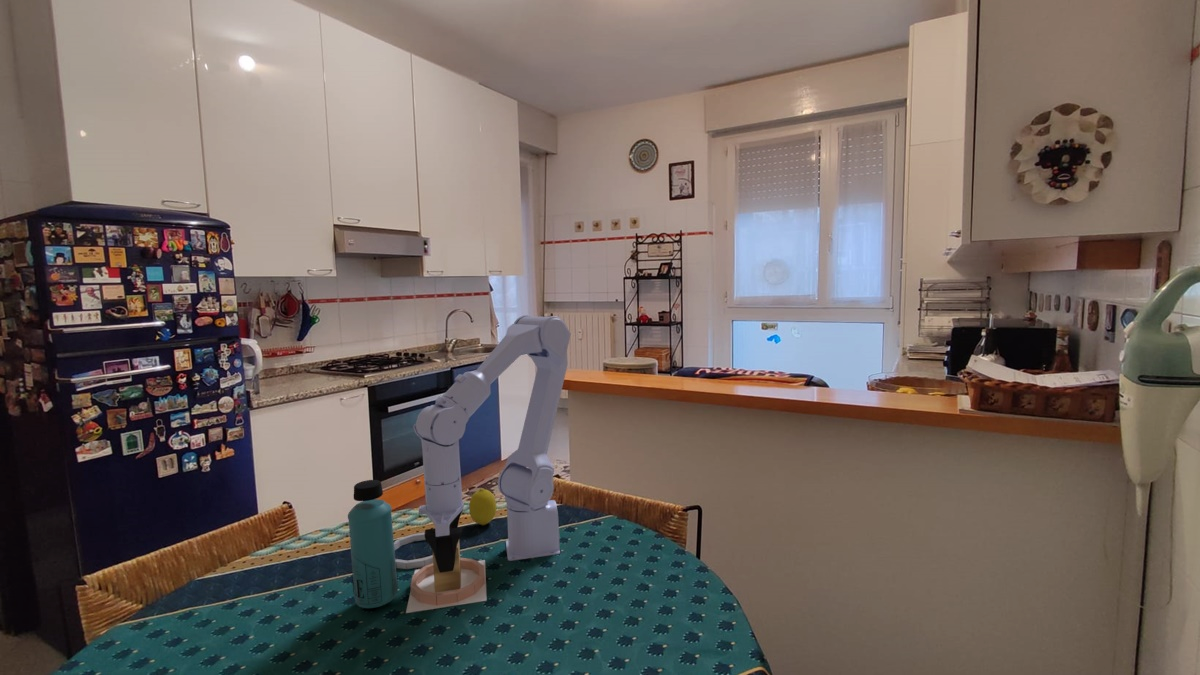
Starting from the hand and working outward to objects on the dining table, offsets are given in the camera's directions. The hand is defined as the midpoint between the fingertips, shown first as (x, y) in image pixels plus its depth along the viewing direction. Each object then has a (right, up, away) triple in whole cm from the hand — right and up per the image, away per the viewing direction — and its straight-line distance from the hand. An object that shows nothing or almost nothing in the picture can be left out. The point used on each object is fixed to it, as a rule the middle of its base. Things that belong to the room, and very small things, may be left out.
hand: (447, 558), depth 89 cm
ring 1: (-9, -4, +12) cm, 15 cm away
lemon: (+1, -3, +23) cm, 23 cm away
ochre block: (0, -4, 0) cm, 4 cm away
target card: (0, -5, 0) cm, 5 cm away
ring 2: (0, -4, 0) cm, 4 cm away
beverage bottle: (-10, -6, -5) cm, 12 cm away
